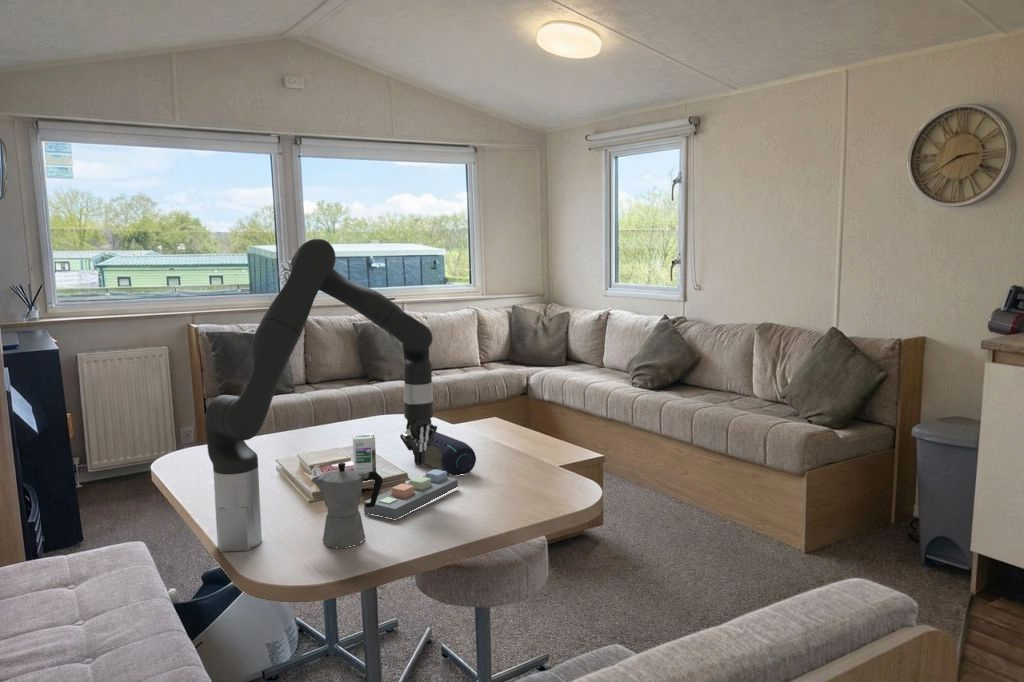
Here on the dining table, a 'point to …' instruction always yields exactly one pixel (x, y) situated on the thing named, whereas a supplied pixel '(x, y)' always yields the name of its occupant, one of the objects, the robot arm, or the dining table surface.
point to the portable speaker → (450, 455)
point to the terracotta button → (403, 491)
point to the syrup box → (364, 452)
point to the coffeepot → (345, 504)
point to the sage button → (420, 483)
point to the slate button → (437, 475)
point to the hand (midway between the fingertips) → (419, 464)
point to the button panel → (408, 499)
